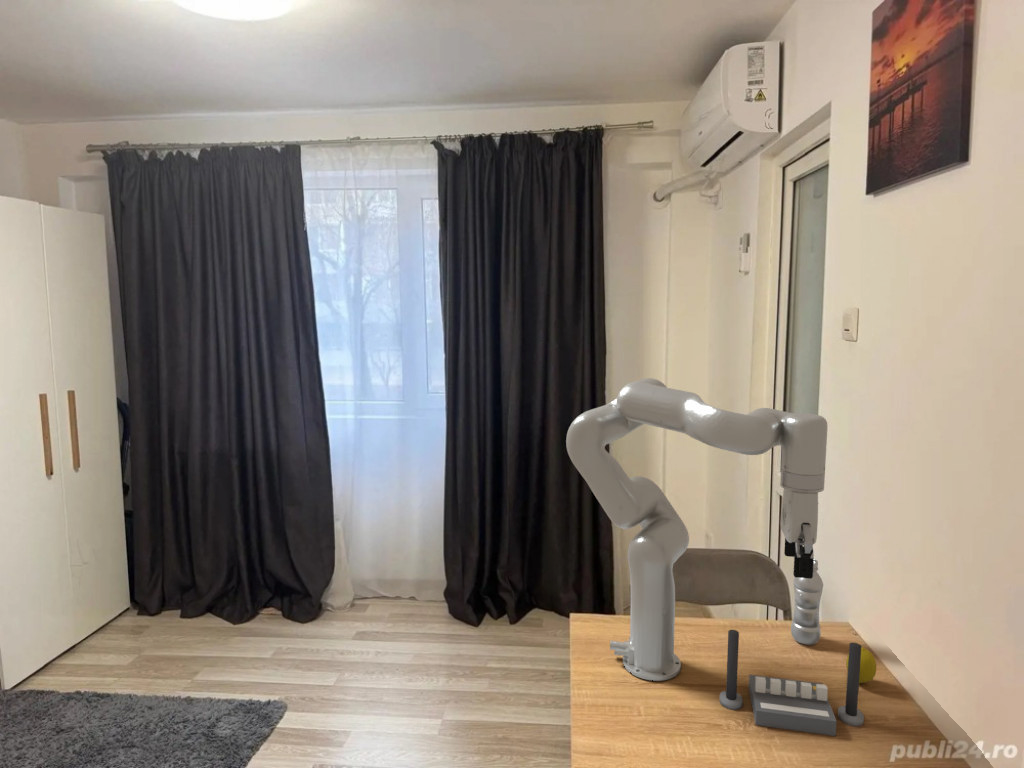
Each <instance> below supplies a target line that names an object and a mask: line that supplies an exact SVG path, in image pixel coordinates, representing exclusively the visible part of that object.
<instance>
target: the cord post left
mask: <svg viewBox="0 0 1024 768" xmlns="http://www.w3.org/2000/svg"><path fill="white" fill-rule="evenodd" d="M727 635H728V637H727V657H726V658H727V659H726V660H727V661H726V685H725V687H726V689H725V690H724V691H721V692H720V693H719V704H720V705H721V706H722V707H723V708H725V709H727V710H733V711H737V710H740V709H742V708H743V703H744V701H743V700H744V699H743V696H742V695H741V694H739V693H738V691H737V690H738V689H737V688H738V672H739V671H738V670H739V669H738V666H739V665H738V664H739V641H740V632H739V631H738V630H736V629H729V630H728V633H727Z"/></svg>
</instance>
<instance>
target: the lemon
mask: <svg viewBox="0 0 1024 768" xmlns="http://www.w3.org/2000/svg"><path fill="white" fill-rule="evenodd" d="M848 660H849V653H848V655H847V658H846V670H847V671H848ZM876 673H877V661H876V658H875V656H874V654H873V653H872V652H871V651H870V650H868V649H866V648H865V647H864V646H861V660H860V675H859V684H863V683H869V682H871V681H872V680H873V679H874V678H875V676H876Z"/></svg>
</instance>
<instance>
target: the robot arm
mask: <svg viewBox="0 0 1024 768" xmlns="http://www.w3.org/2000/svg"><path fill="white" fill-rule="evenodd" d="M643 425H646V426H647V425H648V426H653V427H656V428H661V429H665V430H669V431H673V432H677V433H682V434H685V435H687V436H689V437H690V438H692V439H694V440H697V441H699V442H700V443H702V444H705V445H707V446H710V447H713V448H716V449H720V450H724V451H728V452H733V453H737V454H741V455H747V456H759V455H762V454H765V453H767V452H768V451H770V450H771V449H772V448H773V447H777V446H780V447H781V461H780V463H781V465H780V480H779V481H780V483H779V485H780V487H781V488H783V493H782V502H781V513H780V529H781V532H782V534H783V536H784V556H785V557H792V558H793V571H792V572H793V577H798V578H809V579H811V578H812V577H813V563H814V559H815V558H814V556H815V555H814V545H815V544H816V543H817V537H818V523H819V521H818V519H819V493H822V492H823V491H824V490H825V478H826V462H827V461H826V459H827V458H826V456H827V445H828V444H827V442H828V441H827V440H828V422H827V419H826V418H825V417H824V416H822V415H819V414H815V413H804V412H795V413H794V412H789V411H784V410H779V409H775V408H771V407H761V408H756V409H754V410H753V411H751V412H749V413H747V414H744V413H739V412H734V411H729V410H724V409H720V408H718V407H714V406H711V405H710V404H708V403H706V401H704V400H703V399H702V398H701V396H699V395H698V394H697V393H694V392H691V391H686V390H681V389H675V388H671V387H667V385H666V384H664V382H662V381H661V380H659V379H656V378H654V377H653V378H652V377H651V378H650V377H649V378H647V377H646V378H642V379H638V380H636V381H635V380H634V381H631V382H629V383H627V384H625V385H624V386H623V387H622V388H621V389H620V390H619V392H618V394H617V397H616V398H614V399H613V400H612V401H609V403H607V404H603V405H602V406H598V407H595V408H592V409H589V410H586V411H583V413H581V414H579V415H578V416H576V418H575V419H574V420H573V421H572V422H571V424H570V426H568V430H567V433H566V440H565V443H566V445H565V446H566V451H567V454H568V456H569V458H570V460H571V463H572V464H573V466H574V467H575V469H576V470H577V471H578V472H579V474H580V475H581V477H582V478H583V479H584V480H585V482H586V483H587V486H588V487H589V489H590V490H591V492H592V493H593V495H594V496H595V498H596V500H597V501H598V503H599V504H600V506H601V508H602V509H603V511H604V512H605V514H606V515H607V517H608V518H609V520H610V521H611V522H612V523H613V525H615V526H616V527H618V528H620V529H624V530H629V529H633V528H634V527H636V526H639V525H640V527H641V530H639V531H638V532H637V533H636V534H635V535H634V536H633V537H632V539H631V540H630V542H629V545H628V549H627V562H628V568H629V576H630V579H629V580H630V612H629V613H630V617H629V618H630V619H629V620H630V622H629V623H630V624H629V627H630V628H629V630H630V631H629V632H630V633H629V634H630V635H629V637H628V641H627V640H624V642H622V641H618V640H610V642H609V650H610V651H611V650H613V651H614V654H613V655H614V656H622V665H623V664H624V665H623V667H624V666H625V667H624V668H625V670H626V671H627V672H629V673H630V672H631V673H632V674H631V673H630V674H631V675H633V676H634V677H636V678H639V679H643V680H645V681H652V680H653V681H654V682H660V681H662V682H663V681H666V680H670V679H672V678H674V677H676V676H678V674H680V673H681V668H682V665H681V663H682V662H681V660H680V658H679V657H678V655H677V654H676V653H675V619H676V618H675V617H676V613H675V612H676V588H675V587H676V586H675V579H674V573H673V566H674V563H676V562H677V561H678V559H679V558H680V557H681V556H682V555H683V554H684V553H685V552H686V550H688V547H689V543H690V534H689V532H688V528H687V527H686V525H685V523H684V521H683V520H682V518H681V516H680V515H679V514H678V513H677V511H676V509H675V508H674V507H673V504H671V502H670V500H669V499H668V498H667V496H666V495H665V493H664V492H663V490H662V489H661V488H660V486H659V485H658V484H657V483H655V482H654V481H653V480H652V479H650V478H648V477H645V476H642V475H641V476H633V477H629V475H628V474H627V473H626V472H625V471H624V470H625V469H624V468H623V467H622V465H621V464H620V462H619V461H618V460H617V459H616V458H615V457H614V456H613V455H611V454H610V453H609V452H608V451H607V450H606V448H605V447H606V445H609V444H610V443H611V444H612V443H614V442H615V441H618V440H620V439H622V438H624V437H626V436H627V435H629V434H630V433H632V432H633V431H635V430H636V429H639V428H640V427H641V426H643Z"/></svg>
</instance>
